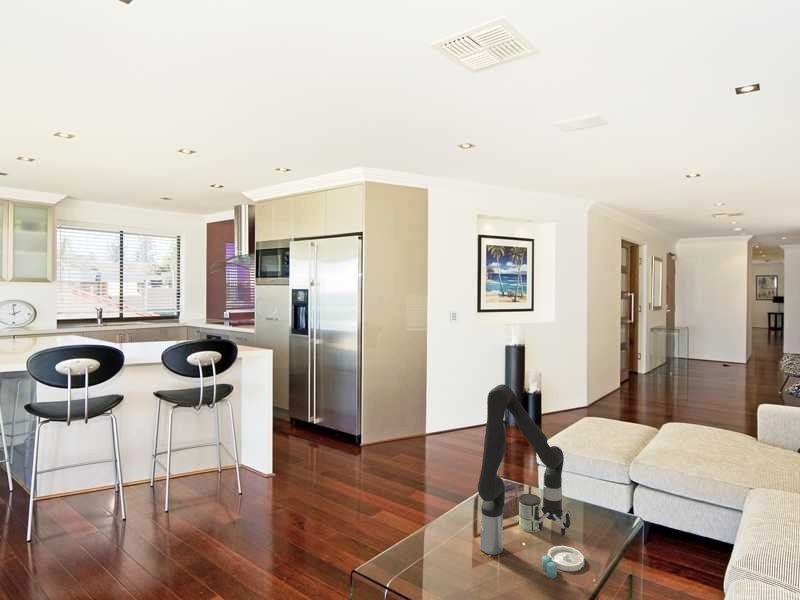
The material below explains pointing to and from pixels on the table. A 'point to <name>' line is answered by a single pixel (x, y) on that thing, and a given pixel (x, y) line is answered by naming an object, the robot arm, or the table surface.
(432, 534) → the table surface
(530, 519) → the coffee can
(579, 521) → the table surface
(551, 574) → the bead
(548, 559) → the bead
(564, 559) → the ring tray
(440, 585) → the table surface
